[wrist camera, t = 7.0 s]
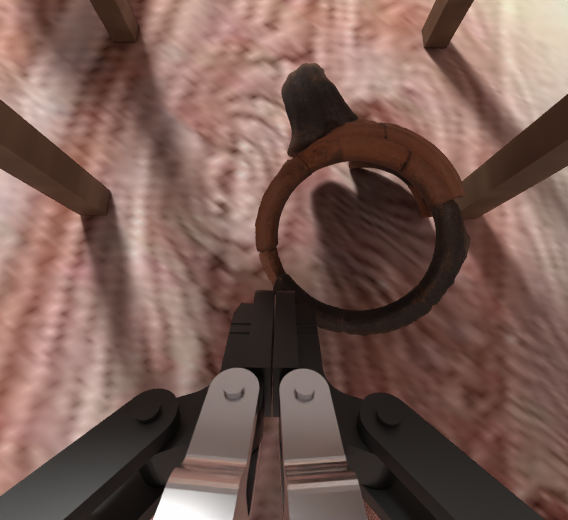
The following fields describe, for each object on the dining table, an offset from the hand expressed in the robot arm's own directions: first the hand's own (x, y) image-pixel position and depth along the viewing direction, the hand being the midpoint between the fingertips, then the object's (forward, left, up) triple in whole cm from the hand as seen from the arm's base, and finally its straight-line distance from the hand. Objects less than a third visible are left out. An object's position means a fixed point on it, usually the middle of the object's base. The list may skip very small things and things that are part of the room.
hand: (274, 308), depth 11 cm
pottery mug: (+3, +5, -4) cm, 7 cm away
